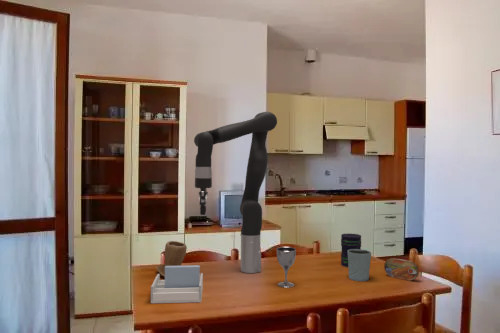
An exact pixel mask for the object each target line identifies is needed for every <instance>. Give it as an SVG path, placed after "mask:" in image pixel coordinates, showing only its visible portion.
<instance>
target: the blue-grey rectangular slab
mask: <svg viewBox="0 0 500 333" xmlns="http://www.w3.org/2000/svg"><path fill="white" fill-rule="evenodd" d="M200 268H201V266H200V265H197V264H196V265H195V264H194V265H181V266H165V277H164V280H165V288H195V287H199V282H200V275H201V272H200V271H201V269H200Z"/></svg>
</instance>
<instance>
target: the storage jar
mask: <svg viewBox="0 0 500 333" xmlns="http://www.w3.org/2000/svg"><path fill="white" fill-rule="evenodd" d="M340 237H341V238H340V239H341V240H340V245H341V253H340V262H341V263H340V265H341V266H342V267H345V268H348V252H347V251H348V250H350V249H361V248H362V235H361V234H358V233H342V234H341V236H340Z"/></svg>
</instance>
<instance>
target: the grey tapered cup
mask: <svg viewBox="0 0 500 333" xmlns="http://www.w3.org/2000/svg"><path fill="white" fill-rule="evenodd" d="M347 252H348V267H347V268H348V279H350V280H351V281H354V282H367V281H369V279H370V269H371V265H370V264H371V258H372V252H371V251H370V250H367V249H350V250H348V251H347Z"/></svg>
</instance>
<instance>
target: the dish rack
mask: <svg viewBox="0 0 500 333" xmlns="http://www.w3.org/2000/svg"><path fill="white" fill-rule="evenodd" d="M160 276H161V274H160V273H157V274H156V276H155V278H154V280H153V282H152V285H150V304H174V303H175V304H177V303H178V304H181V303H182V304H183V303H185V304H186V303H188V304H189V303H202V297H203V287H204V285H203V284H204V280H203V279H204V273H203V272H200V282H199V287H195V288H165V279H161V278H160Z"/></svg>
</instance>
